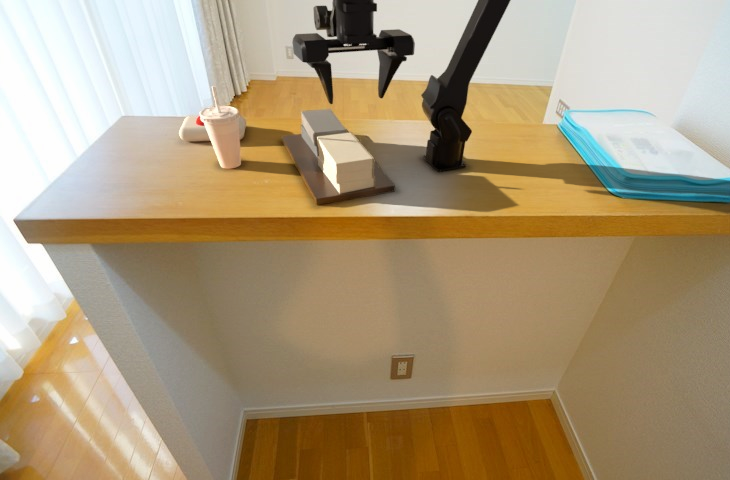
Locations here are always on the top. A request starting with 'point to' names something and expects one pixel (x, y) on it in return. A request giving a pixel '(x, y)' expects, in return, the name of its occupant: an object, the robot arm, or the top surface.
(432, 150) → the robot arm
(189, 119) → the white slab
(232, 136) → the smoothie
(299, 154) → the walnut board
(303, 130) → the gray rectangular block
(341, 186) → the white book
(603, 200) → the top surface
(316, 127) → the grey flat block
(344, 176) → the white book
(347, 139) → the white book
